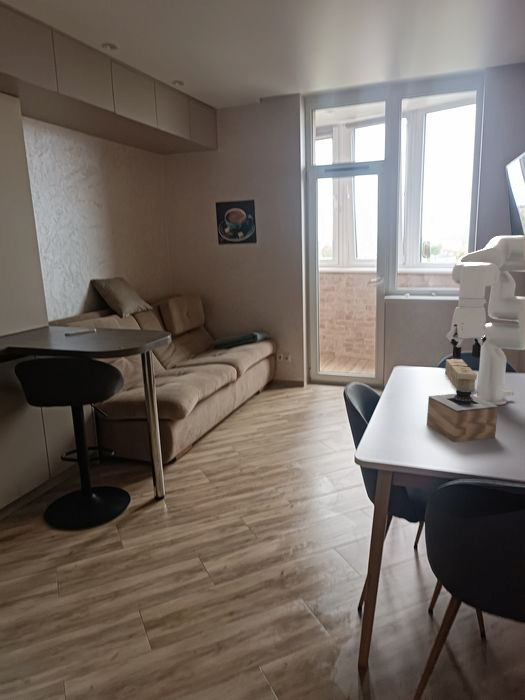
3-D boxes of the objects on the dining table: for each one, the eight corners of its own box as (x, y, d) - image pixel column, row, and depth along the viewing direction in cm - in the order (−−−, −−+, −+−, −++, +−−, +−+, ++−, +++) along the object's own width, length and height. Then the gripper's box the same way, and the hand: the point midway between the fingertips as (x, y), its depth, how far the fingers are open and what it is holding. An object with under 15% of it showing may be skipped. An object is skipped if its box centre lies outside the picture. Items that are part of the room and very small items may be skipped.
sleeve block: (464, 420, 173) (467, 392, 171) (495, 437, 159) (498, 406, 157) (426, 425, 170) (428, 396, 167) (454, 442, 155) (456, 410, 153)
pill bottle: (472, 424, 160) (475, 392, 158) (453, 423, 161) (455, 391, 159) (468, 418, 166) (471, 387, 164) (450, 417, 167) (452, 386, 165)
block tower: (444, 375, 238) (456, 391, 209) (445, 358, 236) (457, 372, 208) (461, 376, 236) (475, 391, 208) (462, 359, 235) (477, 372, 206)
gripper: (486, 301, 161) (481, 353, 165) (440, 302, 156) (436, 356, 160) (502, 303, 154) (496, 358, 157) (454, 305, 149) (450, 362, 153)
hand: (466, 357), depth 159 cm, fingers open, 6 cm apart
